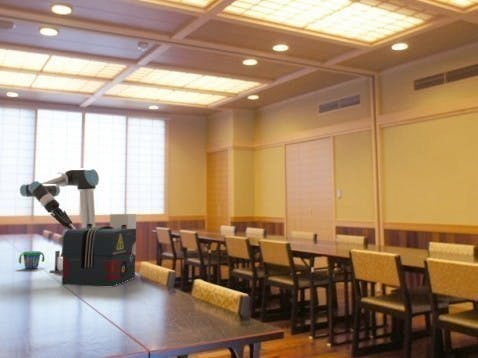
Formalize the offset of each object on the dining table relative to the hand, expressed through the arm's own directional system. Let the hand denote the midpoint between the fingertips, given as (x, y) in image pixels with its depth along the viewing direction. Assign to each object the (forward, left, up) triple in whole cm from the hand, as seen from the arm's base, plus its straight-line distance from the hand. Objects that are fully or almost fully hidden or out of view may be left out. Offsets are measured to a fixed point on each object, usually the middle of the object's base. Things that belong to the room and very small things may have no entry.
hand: (76, 233), depth 266 cm
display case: (-26, +8, -24) cm, 37 cm away
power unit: (0, +21, -24) cm, 32 cm away
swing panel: (-5, -13, -22) cm, 26 cm away
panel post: (-6, -26, -24) cm, 36 cm away
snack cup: (-6, -52, -24) cm, 57 cm away
